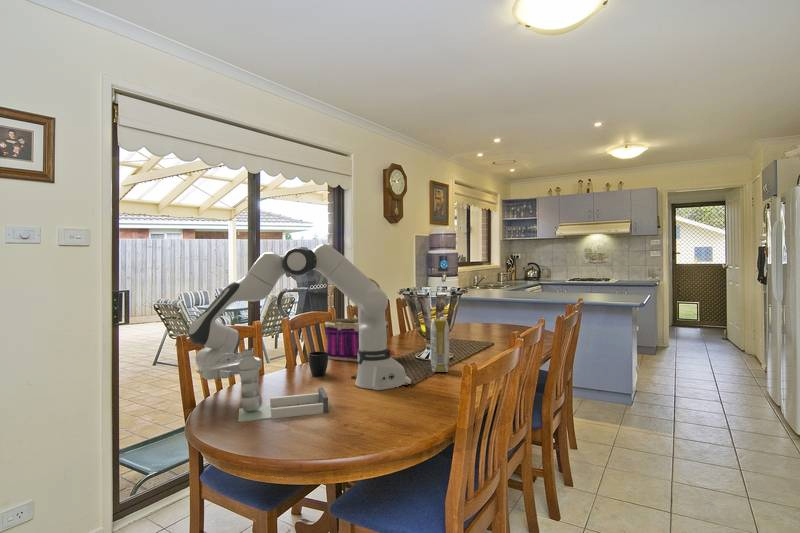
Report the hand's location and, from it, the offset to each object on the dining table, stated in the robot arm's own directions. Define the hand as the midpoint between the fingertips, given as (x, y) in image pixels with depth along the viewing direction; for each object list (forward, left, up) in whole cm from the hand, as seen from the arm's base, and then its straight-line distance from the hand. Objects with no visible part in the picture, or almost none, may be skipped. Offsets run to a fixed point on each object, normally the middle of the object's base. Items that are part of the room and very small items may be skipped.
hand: (243, 371), depth 153 cm
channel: (-17, +6, -13) cm, 22 cm away
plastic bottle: (-3, +4, -12) cm, 13 cm away
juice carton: (-81, -25, -13) cm, 86 cm away
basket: (-52, -63, -13) cm, 83 cm away
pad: (-3, +6, -13) cm, 14 cm away
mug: (-30, -37, -13) cm, 50 cm away
